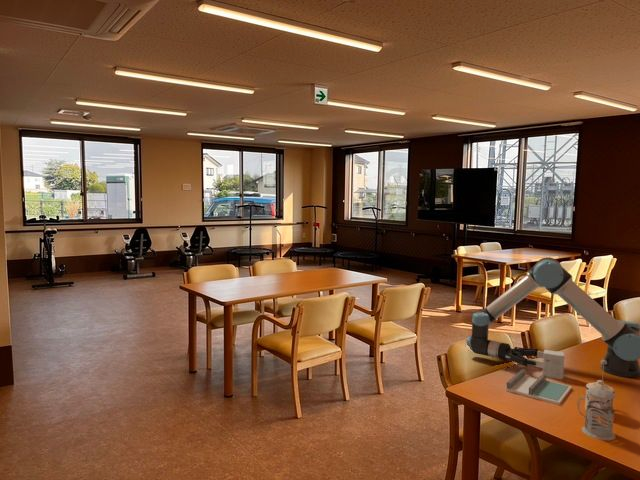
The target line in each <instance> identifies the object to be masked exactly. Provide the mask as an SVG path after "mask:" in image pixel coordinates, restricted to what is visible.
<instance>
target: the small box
mask: <svg viewBox="0 0 640 480" xmlns="http://www.w3.org/2000/svg"><path fill="white" fill-rule="evenodd" d="M543 352H544V358H542V359H543V362H545V368H542V374H546V378H549V379H550V378H551V379H557V380H563V379H564V368H565V353H564V352H563V351H555V350H548V349H543Z"/></svg>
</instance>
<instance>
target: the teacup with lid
mask: <svg viewBox="0 0 640 480" xmlns="http://www.w3.org/2000/svg"><path fill="white" fill-rule="evenodd" d="M594 387H601V388H605V389H608V390H610V391H612V392H613V393H614V394H615V390H614V388H613V387H612V386H610V385H608V384H606V383H604V381H603V383H602V379H597V381H595V382H589V383H586V385H585V397H586V396H587V395H588V397H589V400H588V399H587V397H586V398H584V400H585V401H584V410H585V411H586V412H587V406H588V405H589V404H588V402H589V401H592V400H595V401H600V400H601V401H603V402H605V403H608V404H611V405H612V406H613V407H614V405H613V403H614V399H602V398H598V397H595V396H592V395H590V394H589V393H588V389H590V388H594ZM591 409H595V408H593V407H592V408H590V409H589V410H591ZM596 410H598V409H596ZM598 411H600V412H601V413H603V414H605V415H609V414H607V413H605V412H603V411H601V410H598ZM593 412H595V413H598V412H596V411H593ZM599 414H600V413H599Z"/></svg>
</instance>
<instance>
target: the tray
mask: <svg viewBox="0 0 640 480" xmlns="http://www.w3.org/2000/svg"><path fill="white" fill-rule="evenodd" d="M546 379H547V377H546V374H543V373H542V374H541V375H540V376H539V377H538V378H537V377H534V376H530V375H526V369H525V368H522V369H520V370H519V371H518V372H517V373H516V374H515V375H514V376H513V377H511V378H510V379H509V380H508V381H507V382H506V392H510V393H513V394H517V395H521V396H525V397H528V398H532V399H536V400H538V401H543V402H547V403H549V404H550V403H551V404H555V405H561V404H562V401H564V399H565V397H567V395H568V394H569V393H570V391H571V390H572V386H570V385H568V384H563V383H559V382H555V381H551V380H546Z"/></svg>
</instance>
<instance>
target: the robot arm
mask: <svg viewBox="0 0 640 480" xmlns="http://www.w3.org/2000/svg"><path fill="white" fill-rule="evenodd" d="M539 288H544V289H545V290H547V292H549V293H550V294H551V295H558V296H559V297H560V298H561V299H562V300H563V301H564V302H566V304H567V305H568V306H569V307H571V308H572V309H573V310H574V311H575V312H576V313H577V314H578V315H579V316H580V317H582V319H583V320H585V321H586V322H587V323H588V324H590V326H591V327H593V328H594V329H595V330H596V331H597V332H599V334H601V340H602V341H603V342H604V343H605V344H606V345H607V347H606V353H605V356H604V358H603V359H602V360H606V361H607V364H604V370H603V364H601V363H600V365H601V366H600V367H601V370H602V371H603V372H606V373H608V374H610V375H614V376H618V377H623V378H638V377H640V363H639V360H640V324H639V323H637V322H634V321H629V320H620V319H616V318H614V316H613V315H611V314H610V313H609V312H608V311H607V310H606V309H605V308H603V307H602V306H601V305H600V304H599V303H598V302H597V301H595V299H593V297H591V296H590V295H589V294H588V293H587V292H586V291H584V290H583V289H582V288H581V287H580V286H579V285H577V284H576V282H575V281H573V275H572V274H570V273H569V272H568V271H567V270H566V269H565V268H564V267H563V266H562V264H561V263H560V262H559V261H558V260H557V259H556V258H553V257H550V256H549V257H542V258H541V259H539V260H537V262H536V263H535V264H534V265H533V266H532V267H531V268H530V269H528V271H527V272H526V275H524V277H522V278H521V279H520V280H519V281H517V282H516V283H515V284H513V285H512V286H511V287H510V288H509V289H507V290H505V292H504V293H502V294H501V295H500V296H499V297H497V298H496V299H495V300H493V301H492V302H491V303H490V304H488V305H487V306H486V307H485V308H483V309H482V310H479V311H478V312H474V313H473V314H472V319H471V323H472V324H471V335H469V336H467V338H466V340H465V344H466V343H467V345H468V346H469V347H470V349H471V350H472V351H473V352H474V353H473V352H472V353H473V354H475V353H476V354H478V355H480V356H481V355H482V356H487V357H491V358H492V359H500V360H504V361H511V362H514V363H516V364H517V365H520V366H523V367H528V366H532V367H536V368H541V369H543V368H545V362H543V361H542V360H538V359H533V358H527V357H536V358H540V359H543V358H544V351H540V350H539V349H538V348H530V347H529V348H528V347H519V346H514V347H513V348H512V347H511V345H510V344H509V343H506V342H500V341H496V340H492V339H489V329H490V326H491V324H492V323H494V322H495V321H496V320H497V319H499V318H500V317H502V316H503V315H504V314H505V313H507V312H508V311H510V310H511V309H512V308H513V307H514V306H516V305H517V304H518V303H520V302H521V301H523V300H524V299H525V298H526V297H528V295H530V294H531V293H532V292H534V291H535V290H537V289H539ZM468 339H469V340H468ZM466 341H467V342H466Z"/></svg>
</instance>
